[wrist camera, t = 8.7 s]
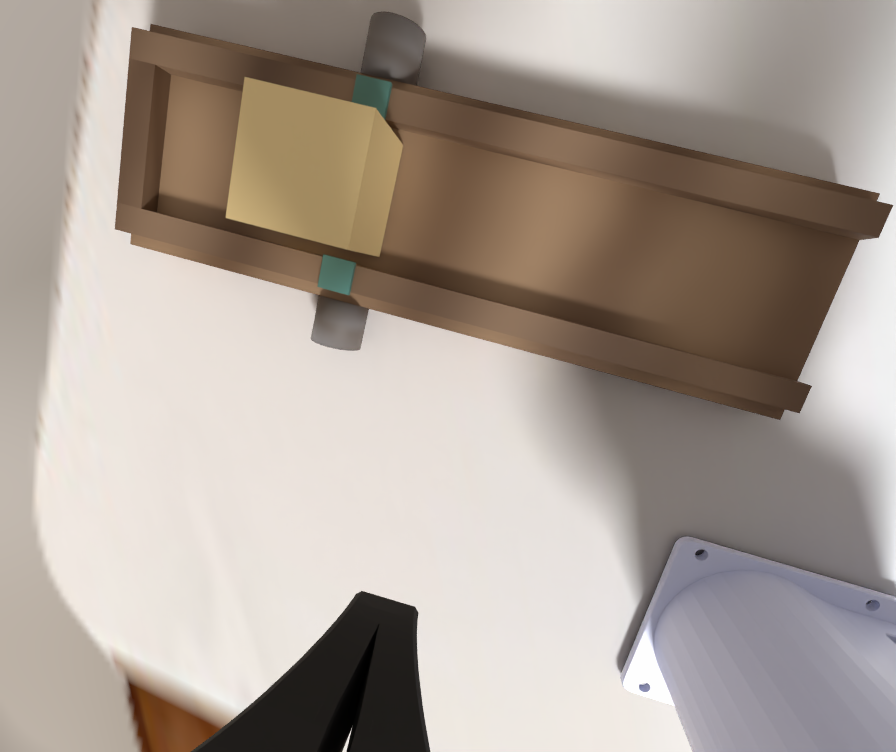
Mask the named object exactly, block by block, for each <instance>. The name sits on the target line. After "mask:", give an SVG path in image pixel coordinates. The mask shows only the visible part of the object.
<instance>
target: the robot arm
mask: <svg viewBox="0 0 896 752" xmlns="http://www.w3.org/2000/svg"><path fill="white" fill-rule="evenodd" d="M700 549H703V550H704V552H703V553H702V554H701V555H695V553H696V552H697V551H698V550H700ZM870 600H872V601H871V602H870V603H869V604H866V603H867V602H868V601H870ZM417 619H418V611H417V610H416V608H415V607H414V606H410V605H407V604H404V603H400V602H397V601H394V600H390V599H387V598H384V597H380V596H377V595H373V594H370V593H367V592H363V591H361V592H359V593H357V594H356V595H355V596H354V598H353V599H352V601H351V602H350V604H349V605H348V606H347V608H346V609H345V610H344V611H343V613H342V614H341V615H340V616H339V617H338V619H337V620H336V621H335V622H334V623H333V624H332V626H331V627H330V628H329V629H328V630H327V631H326V632H325V634H324V635H323V636H322V637H321V638H320V639H319V640H318V641H317V642H316V643H315V644H314V645H313V646H312V647H311V648H310V649H309V650H308V651H307V652H306V653H305V654H304V656H303V657H302V658H301V659H300V660H299V661H298V662H297V663H296V664H295V665H293V666H292V667H291V668H290V669H289V670H288V671H287V672H286V673H285V674H284V675H283V676H282V677H281V678H280V679H278V680H277V681H276V682H275V683H274V684H273V685H272V686H271V687H270V688H269V689H268V690H267V691H266V692H264V693H263V694H262V695H261V696H260V697H259V698H258V699H257V700H255V701H254V702H253V703H252V704H251V705H250V706H248V707H247V708H246V709H245V710H244V711H242V712H241V713H240V714H239V715H238V716H236V717H235V718H234V719H233V720H231V721H230V722H229V723H228V724H227V725H225V726H224V727H223V728H222V729H220V730H219V731H218V732H217V733H215V734H214V735H213V736H211V737H210V738H209V739H207V740H206V741H205V742H203V743H202V744H201V745H199V746H198V747H197V748H195V749H194V750H193V751H191V752H342V751H343V748H344V746H345V743H346V741H347V738H348V736H349V733H350V731H351V728H352V731H351V735H350V739H349V744H348V748H347V752H430V748H429V742H428V736H427V731H426V725H425V719H424V712H423V706H422V697H421V689H420V681H419V671H418V657H417ZM620 678H621V681H622V684H623V687H624V688H625V689H626V690H628V691H630V692H633V693H636V694H639V695H642V696H645V697H648V698H652V699H655V700H658V701H661V702H664V703H667V704H670V705H673V706H675V709H676V711H677V714H678V716H679V719H680V721H681V724H682V726H683V729H684V731H685V734H686V736H687V739H688V741H689V744H690V746H691V749H692V751H693V752H896V597H895V596H891V595H888V594H884V593H881V592H878V591H874V590H871V589H867V588H864V587H860V586H857V585H854V584H850V583H847V582H843V581H840V580H837V579H833V578H830V577H826V576H823V575H819V574H816V573H813V572H809V571H806V570H802V569H799V568H796V567H792V566H789V565H785V564H782V563H778V562H775V561H772V560H768V559H765V558H761V557H758V556H755V555H751V554H748V553H744V552H741V551H737V550H734V549H731V548H727V547H724V546H720V545H717V544H714V543H710V542H707V541H703V540H700V539H696V538H693V537H688V536H685V537H681V538H680V539H678V540H677V541H676V543H675V544H674V547H673V549H672V552H671V554H670V557H669V559H668V561H667V564H666V566H665V569H664V571H663V573H662V576H661V578H660V581H659V583H658V586H657V588H656V590H655V593H654V595H653V598H652V600H651V603H650V605H649V607H648V610H647V612H646V615H645V617H644V619H643V622H642V624H641V627H640V629H639V632H638V634H637V636H636V639H635V641H634V644H633V646H632V649H631V651H630V653H629V656H628V658H627V661H626V663H625V665H624V668H623V670H622V673H621V677H620ZM643 682H646V684H644V685H640V683H643Z"/></svg>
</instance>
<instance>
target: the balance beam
mask: <svg viewBox="0 0 896 752" xmlns="http://www.w3.org/2000/svg"><path fill="white" fill-rule="evenodd" d="M425 43H426V34H425V33H424V31H423V30H422V29H421V28H420V27H419V26H418V25H417V24H416V23H414V22H413V21H411V20H409V19H407V18H405V17H403V16H401V15H398V14H394V13H390V12H377V13H374V14H373V15H372V16H371V21H370V26H369V31H368V37H367V42H366V47H365V53H364V58H363V63H362V69H361V73H359V72H355V71H351V70H346V69H342V68H338V67H333V66H329V65H325V64H321V63H316V62H312V61H308V60H303V59H299V58H295V57H290V56H286V55H282V54H278V53H273V52H269V51H265V50H260V49H256V48H252V47H247V46H243V45H239V44H235V43H230V42H226V41H222V40H217V39H213V38H209V37H204V36H200V35H196V34H192V33H187V32H183V31H179V30H174V29H170V28H166V27H161V26H157V25H153V24H151V26H150V31H147V30H142V29H138V28H134V27H132V32H131V44H130V56H129V68H128V80H127V91H126V103H125V115H124V127H123V139H122V151H121V163H120V175H119V187H118V199H117V211H116V222H115V229H117V230H120V231H124V232H128V233H131V244H132V245H136V246H140V247H143V248H147V249H151V250H155V251H158V252H162V253H166V254H169V255H173V256H177V257H180V258H184V259H188V260H191V261H195V262H199V263H203V264H206V265H210V266H214V267H217V268H221V269H225V270H228V271H232V272H236V273H239V274H243V275H247V276H251V277H254V278H258V279H262V280H265V281H269V282H273V283H276V284H280V285H284V286H287V287H291V288H295V289H299V290H302V291H306V292H310V293H313V294H317V295H319V298H318V304H317V309H316V314H315V320H314V325H313V330H312V336H311V340H312V341H314V342H316V343H318V344H320V345H323V346H327V347H330V348H335V349H340V350H350V351H355V350H359V349H360V348H361V343H362V338H363V333H364V329H365V324H366V319H367V315H368V310H369V309H372V310H376V311H380V312H383V313H387V314H391V315H395V316H398V317H402V318H406V319H409V320H413V321H417V322H420V323H424V324H428V325H431V326H435V327H439V328H443V329H446V330H450V331H454V332H457V333H461V334H465V335H468V336H472V337H476V338H479V339H483V340H487V341H491V342H494V343H498V344H502V345H505V346H509V347H513V348H516V349H520V350H524V351H527V352H531V353H535V354H539V355H542V356H546V357H550V358H553V359H557V360H561V361H564V362H568V363H572V364H576V365H579V366H583V367H587V368H590V369H594V370H598V371H601V372H605V373H609V374H612V375H616V376H620V377H624V378H627V379H631V380H635V381H638V382H642V383H646V384H649V385H653V386H657V387H660V388H664V389H668V390H672V391H675V392H679V393H683V394H686V395H690V396H694V397H697V398H701V399H705V400H708V401H712V402H716V403H720V404H723V405H727V406H731V407H734V408H738V409H742V410H745V411H749V412H753V413H756V414H760V415H764V416H768V417H771V418H775V419H779V420H780V419H781V417H782V414H783V412H784V410H785V409H786V410H789V411H793V412H797V413H800V411H801V409H802V407H803V404H804V402H805V400H806V398H807V395H808V393H809V391H810V389H811V387H812V386H810V385H807V384H804V383H801V382H798V381H797V380H798V378H799V376H800V373H801V371H802V369H803V367H804V364H805V362H806V360H807V358H808V355H809V353H810V351H811V349H812V346H813V344H814V342H815V340H816V337H817V335H818V333H819V330H820V328H821V326H822V324H823V321H824V319H825V317H826V315H827V312H828V310H829V308H830V306H831V303H832V301H833V299H834V296H835V294H836V292H837V290H838V287H839V285H840V283H841V281H842V278H843V276H844V274H845V272H846V269H847V267H848V265H849V263H850V260H851V258H852V256H853V253H854V251H855V249H856V247H857V244H858V242H859V240H864V239H871V238H879V236H880V233H881V231H882V229H883V227H884V224H885V222H886V220H887V218H888V216H889V213H890V211H891V209H892V207H893V205H890V204H886V203H882V202H878V201H877V199H878V197H879V195H880V194H879V193H875V192H871V191H866V190H862V189H858V188H854V187H849V186H845V185H841V184H836V183H832V182H828V181H823V180H819V179H815V178H811V177H806V176H802V175H798V174H793V173H789V172H785V171H780V170H776V169H772V168H768V167H763V166H759V165H755V164H750V163H746V162H742V161H737V160H733V159H729V158H725V157H720V156H716V155H712V154H707V153H703V152H699V151H695V150H690V149H686V148H682V147H677V146H673V145H669V144H664V143H660V142H656V141H652V140H647V139H643V138H639V137H634V136H630V135H626V134H621V133H617V132H613V131H609V130H604V129H600V128H596V127H591V126H587V125H583V124H578V123H574V122H570V121H566V120H561V119H557V118H553V117H548V116H544V115H540V114H535V113H531V112H527V111H523V110H518V109H514V108H510V107H505V106H501V105H497V104H492V103H488V102H484V101H480V100H475V99H471V98H467V97H462V96H458V95H454V94H449V93H445V92H441V91H437V90H432V89H428V88H424V87H419V86H416V85H417V80H418V75H419V71H420V66H421V61H422V57H423V52H424V47H425ZM245 77H248V78H252V79H256V80H260V81H264V82H269V83H273V84H277V85H281V86H285V87H290V88H294V89H298V90H302V91H307V92H311V93H315V94H319V95H323V96H328V97H332V98H336V99H340V100H344V101H349V102H353V103H357V104H361V105H365V106H370V107H374V108H376V109H377V110H378V111H379V113H380V114H381V116H382V117H383V118H384V120H385V121H386V122H387V124H388V125H389V126H390V128H391V129H392V131H393V132H394V133H395V135H396V136H397V137H398V139H399V140H400V141H401V143H402V144H403V149H402V154H401V158H400V163H399V168H398V172H397V177H396V182H395V186H394V191H393V196H392V200H391V205H390V210H389V215H388V219H387V224H386V229H385V233H384V238H383V243H382V247H381V252H380V257H377V256H373V255H368V254H364V253H359V252H355V251H350V250H346V249H342V248H339V247H335V246H331V245H327V244H323V243H320V242H316V241H312V240H308V239H304V238H300V237H297V236H293V235H289V234H285V233H281V232H278V231H274V230H270V229H266V228H262V227H259V226H255V225H251V224H247V223H243V222H239V221H236V220H232V219H228V218H226V210H227V203H228V196H229V188H230V181H231V174H232V166H233V159H234V152H235V144H236V137H237V129H238V122H239V115H240V107H241V100H242V93H243V85H244V78H245Z"/></svg>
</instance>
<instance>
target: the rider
mask: <svg viewBox="0 0 896 752" xmlns="http://www.w3.org/2000/svg"><path fill="white" fill-rule="evenodd" d="M402 149H403V144H402V143H401V141H400V140H399V139H398V137H397V136H396V135H395V133H394V132H393V131H392V129H391V128H390V126H389V125H388V124H387V122H386V121H385V120H384V118H383V117H382V116H381V114H380V113H379V111H378V110H377V109H376V108H374V107H370V106H365V105H361V104H357V103H353V102H349V101H344V100H340V99H336V98H332V97H328V96H323V95H319V94H315V93H311V92H307V91H302V90H298V89H294V88H290V87H285V86H281V85H277V84H273V83H269V82H264V81H260V80H256V79H252V78H248V77H245V78H244V85H243V93H242V100H241V107H240V115H239V122H238V129H237V137H236V144H235V152H234V159H233V166H232V174H231V181H230V188H229V196H228V203H227V210H226V218H228V219H232V220H236V221H239V222H243V223H247V224H251V225H255V226H259V227H262V228H266V229H270V230H274V231H278V232H281V233H285V234H289V235H293V236H297V237H300V238H304V239H308V240H312V241H316V242H320V243H323V244H327V245H331V246H335V247H339V248H342V249H346V250H350V251H355V252H359V253H364V254H368V255H373V256H377V257H380V252H381V247H382V243H383V238H384V233H385V229H386V224H387V219H388V215H389V210H390V205H391V200H392V196H393V191H394V186H395V182H396V177H397V172H398V168H399V163H400V158H401V154H402Z"/></svg>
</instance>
